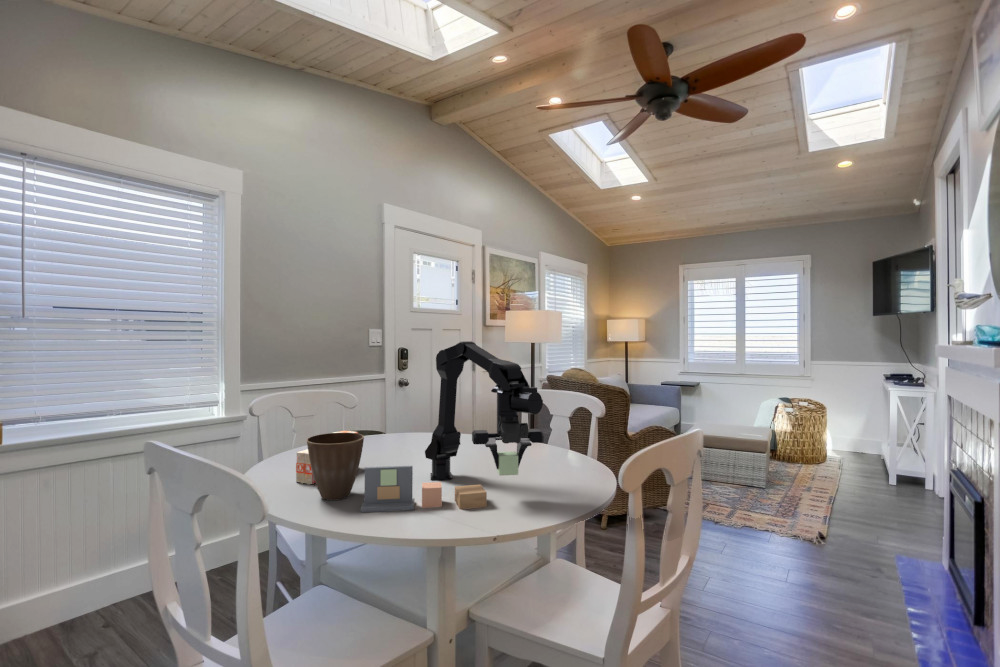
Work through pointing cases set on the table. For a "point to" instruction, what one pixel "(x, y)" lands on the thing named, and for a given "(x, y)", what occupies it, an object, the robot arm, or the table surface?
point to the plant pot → (335, 462)
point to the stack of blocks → (307, 465)
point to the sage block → (507, 463)
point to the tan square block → (470, 496)
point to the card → (388, 489)
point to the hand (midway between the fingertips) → (507, 468)
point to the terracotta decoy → (431, 494)
